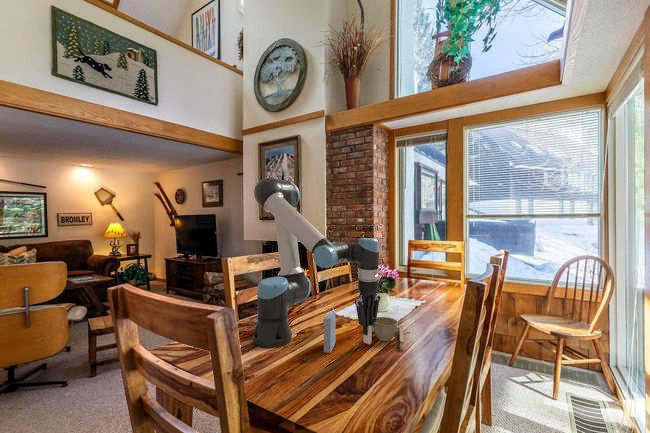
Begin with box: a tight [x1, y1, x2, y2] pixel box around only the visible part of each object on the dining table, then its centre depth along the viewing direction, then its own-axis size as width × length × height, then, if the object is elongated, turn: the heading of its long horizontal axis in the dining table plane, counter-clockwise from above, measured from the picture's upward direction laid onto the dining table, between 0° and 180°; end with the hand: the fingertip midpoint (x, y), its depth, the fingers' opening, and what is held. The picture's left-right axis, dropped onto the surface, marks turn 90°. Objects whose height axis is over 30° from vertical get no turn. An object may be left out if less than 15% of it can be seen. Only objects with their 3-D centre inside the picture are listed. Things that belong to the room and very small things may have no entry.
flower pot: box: [373, 316, 399, 342], centre depth 117 cm, size 10×10×7 cm
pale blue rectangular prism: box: [323, 310, 337, 354], centre depth 109 cm, size 2×9×12 cm, turn 166°
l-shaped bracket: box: [372, 325, 405, 351], centre depth 117 cm, size 16×16×3 cm
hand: (367, 342), depth 111 cm, fingers closed
